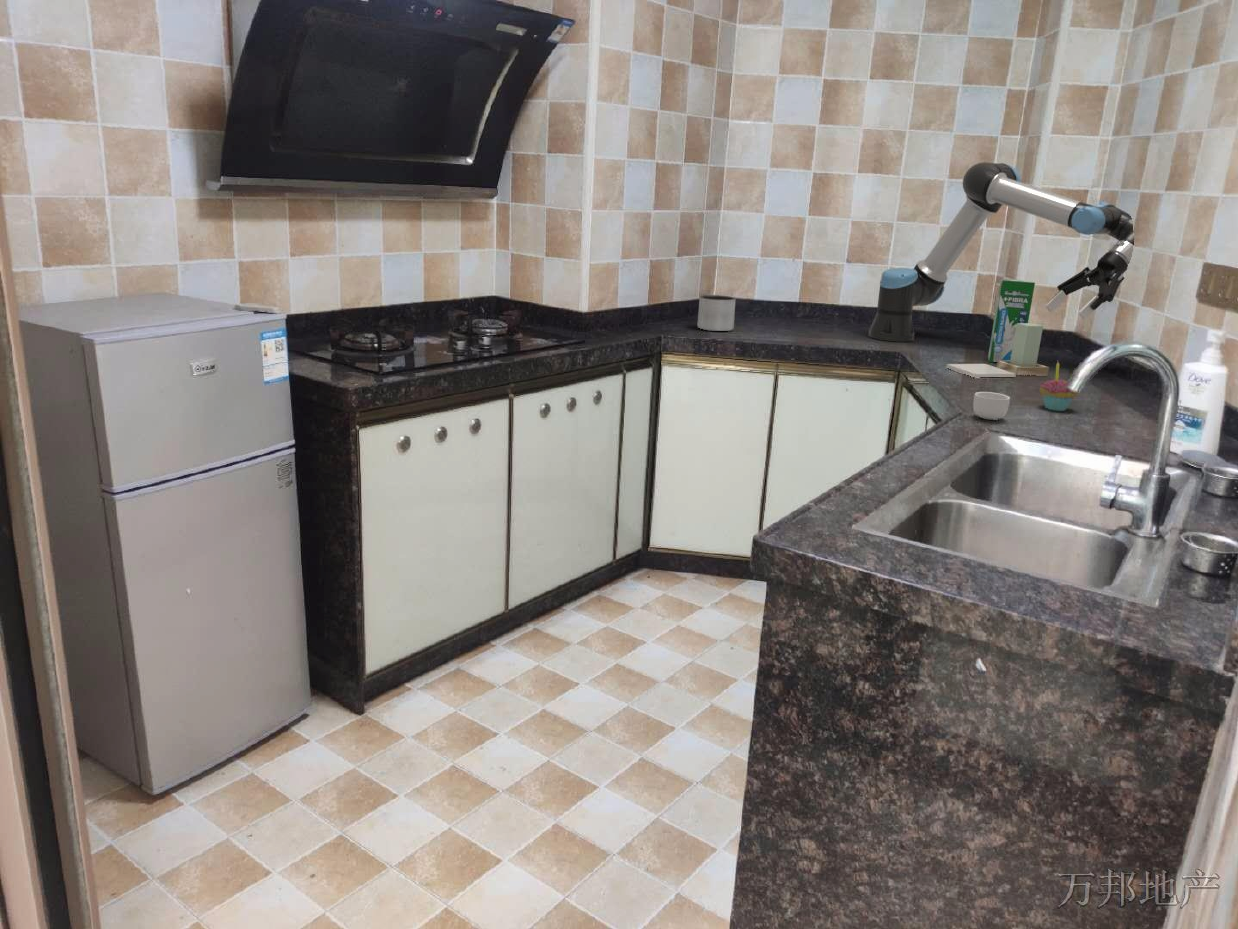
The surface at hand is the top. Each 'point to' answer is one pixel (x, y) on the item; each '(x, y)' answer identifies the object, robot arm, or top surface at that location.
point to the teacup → (990, 404)
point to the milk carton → (1009, 317)
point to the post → (1026, 344)
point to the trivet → (980, 370)
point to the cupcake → (1056, 393)
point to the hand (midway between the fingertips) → (1064, 312)
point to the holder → (1023, 369)
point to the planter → (716, 313)
